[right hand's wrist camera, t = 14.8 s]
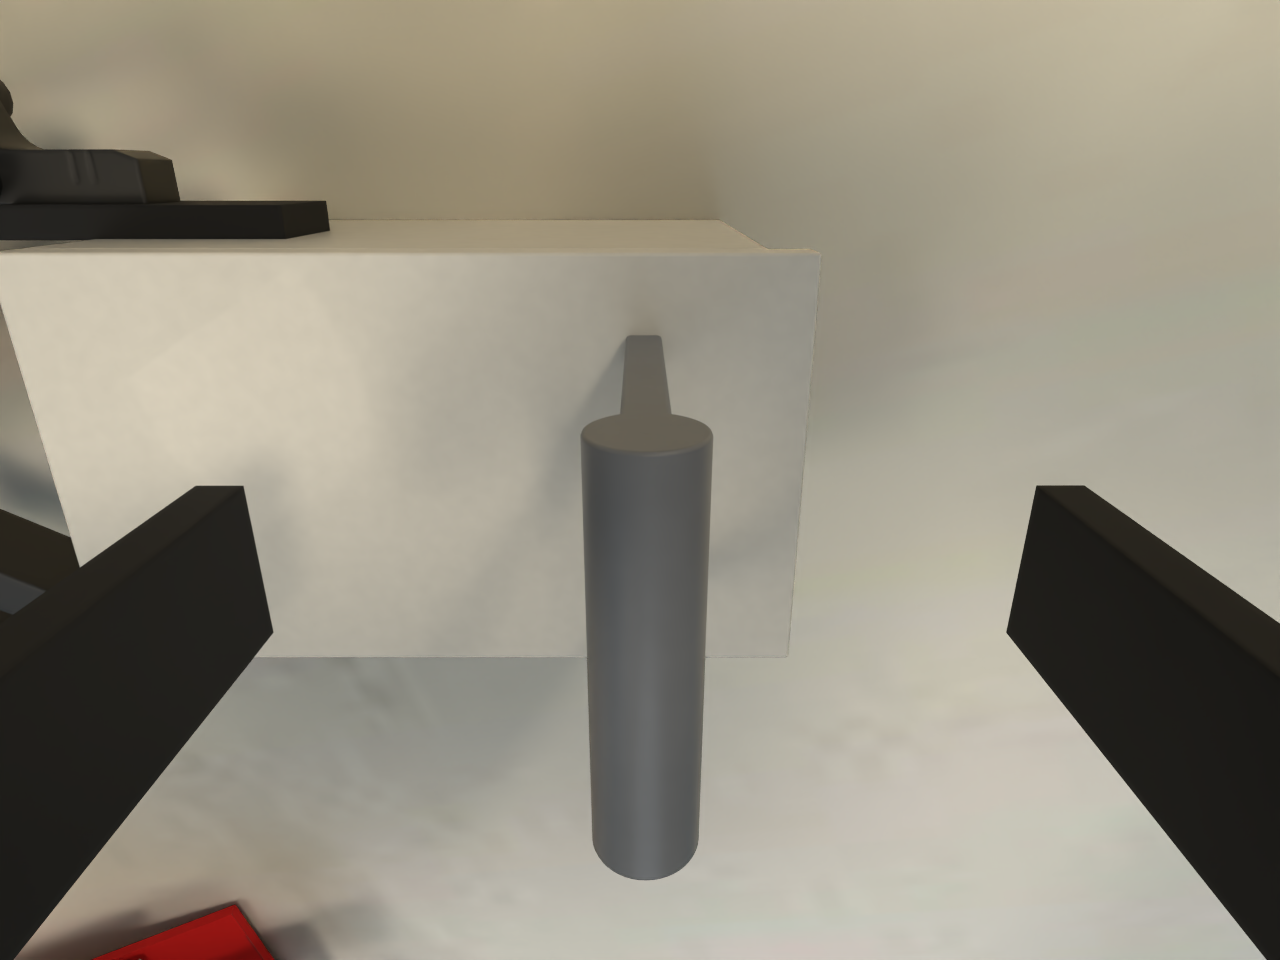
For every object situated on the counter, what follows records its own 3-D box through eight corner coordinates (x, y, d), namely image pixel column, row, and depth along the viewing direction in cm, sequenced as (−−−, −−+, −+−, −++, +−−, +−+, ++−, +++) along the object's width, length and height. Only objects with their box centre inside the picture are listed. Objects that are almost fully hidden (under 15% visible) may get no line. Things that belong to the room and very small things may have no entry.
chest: (721, 219, 25) (769, 248, 15) (711, 484, 28) (746, 637, 19) (250, 219, 25) (18, 248, 15) (297, 484, 28) (128, 637, 19)
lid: (813, 248, 15) (981, 322, 8) (782, 638, 19) (878, 953, 11) (15, 248, 15) (-588, 322, 8) (128, 638, 19) (-218, 953, 11)
